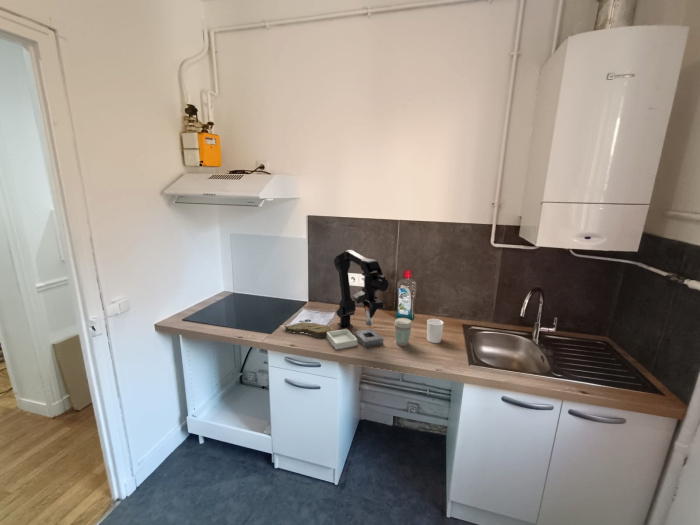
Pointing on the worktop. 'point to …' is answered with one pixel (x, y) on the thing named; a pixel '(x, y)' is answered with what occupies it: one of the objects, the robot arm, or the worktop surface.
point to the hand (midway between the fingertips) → (369, 316)
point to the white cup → (434, 330)
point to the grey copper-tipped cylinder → (368, 317)
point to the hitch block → (368, 338)
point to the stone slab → (309, 329)
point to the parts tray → (341, 339)
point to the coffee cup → (402, 331)
